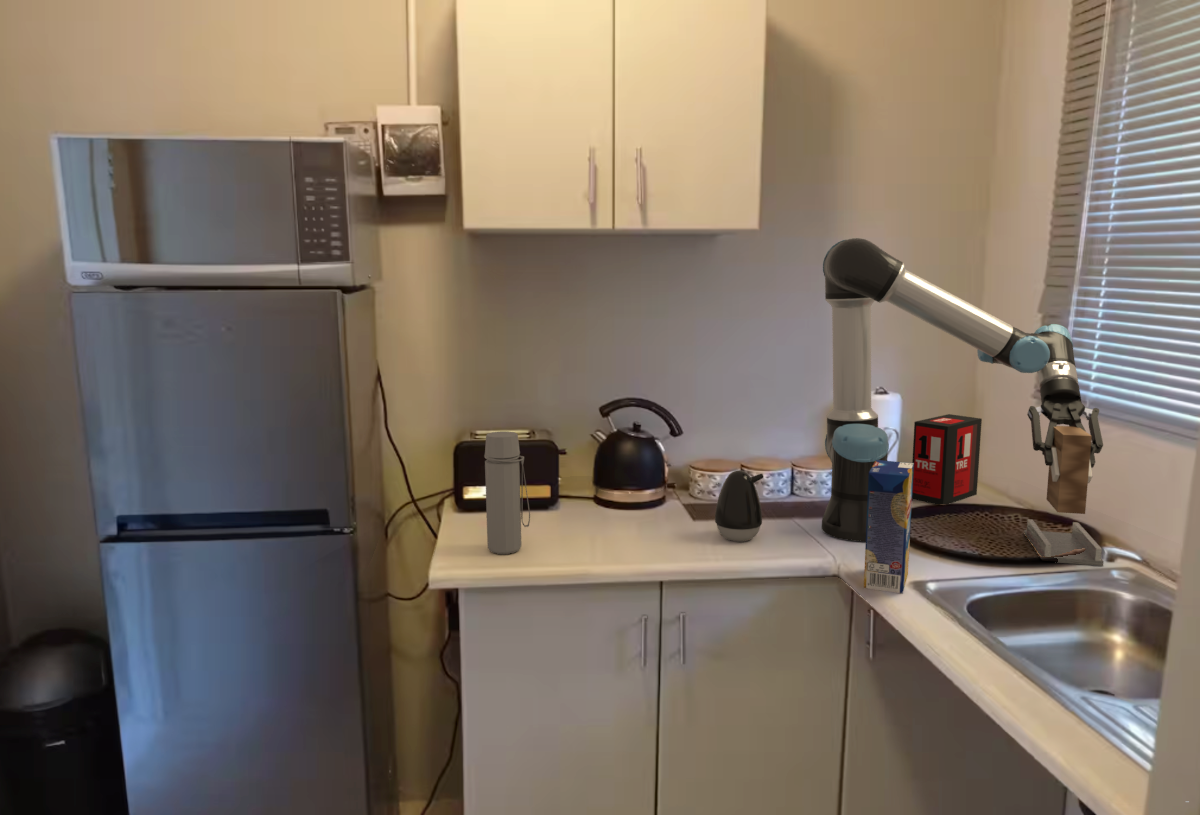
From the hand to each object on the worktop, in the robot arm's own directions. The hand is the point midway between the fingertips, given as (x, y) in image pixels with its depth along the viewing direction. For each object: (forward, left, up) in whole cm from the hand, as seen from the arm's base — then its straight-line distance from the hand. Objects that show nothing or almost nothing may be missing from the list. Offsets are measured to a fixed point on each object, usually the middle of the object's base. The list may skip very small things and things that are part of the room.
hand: (1072, 478), depth 173 cm
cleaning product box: (-19, +42, -16) cm, 49 cm away
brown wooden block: (0, +4, -7) cm, 8 cm away
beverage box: (-36, -24, -16) cm, 46 cm away
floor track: (0, +4, -16) cm, 16 cm away
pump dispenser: (-66, -5, -16) cm, 68 cm away
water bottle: (-112, -25, -16) cm, 116 cm away
